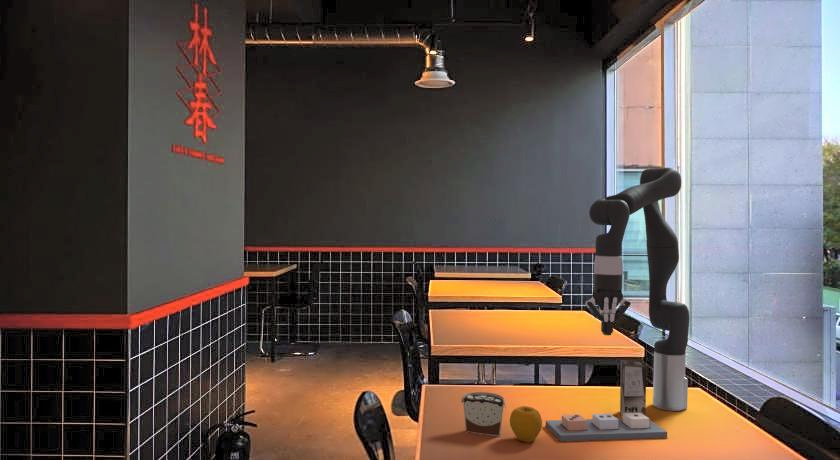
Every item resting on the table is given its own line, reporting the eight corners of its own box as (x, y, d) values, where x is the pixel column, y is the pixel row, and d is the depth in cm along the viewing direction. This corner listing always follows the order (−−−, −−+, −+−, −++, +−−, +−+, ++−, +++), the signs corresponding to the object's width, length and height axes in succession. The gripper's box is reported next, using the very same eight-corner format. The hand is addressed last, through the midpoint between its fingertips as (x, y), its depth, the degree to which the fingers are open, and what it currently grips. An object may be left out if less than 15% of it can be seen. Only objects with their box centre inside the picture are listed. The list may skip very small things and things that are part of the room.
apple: (507, 434, 169) (508, 401, 169) (538, 434, 169) (539, 402, 169) (511, 445, 161) (511, 411, 161) (544, 446, 160) (544, 412, 160)
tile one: (640, 421, 176) (640, 411, 176) (649, 427, 171) (649, 417, 171) (622, 422, 175) (622, 412, 175) (631, 428, 170) (631, 418, 170)
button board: (645, 423, 180) (645, 417, 180) (667, 437, 168) (667, 431, 168) (545, 426, 176) (545, 420, 176) (560, 441, 164) (560, 435, 164)
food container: (509, 430, 173) (510, 394, 172) (505, 437, 167) (505, 400, 167) (466, 424, 177) (466, 389, 176) (460, 431, 171) (461, 395, 171)
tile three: (579, 423, 174) (579, 413, 174) (586, 430, 169) (586, 419, 168) (561, 424, 173) (561, 414, 173) (568, 430, 168) (568, 420, 168)
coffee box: (646, 422, 181) (647, 367, 180) (623, 420, 182) (624, 365, 182) (641, 412, 190) (642, 360, 189) (619, 411, 191) (620, 358, 190)
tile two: (609, 422, 175) (610, 412, 175) (618, 428, 170) (618, 418, 170) (592, 423, 174) (592, 413, 174) (600, 429, 169) (600, 419, 169)
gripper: (624, 271, 176) (623, 332, 176) (579, 271, 174) (578, 332, 174) (637, 273, 168) (636, 337, 169) (590, 273, 166) (589, 337, 167)
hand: (606, 334), depth 171 cm, fingers closed
